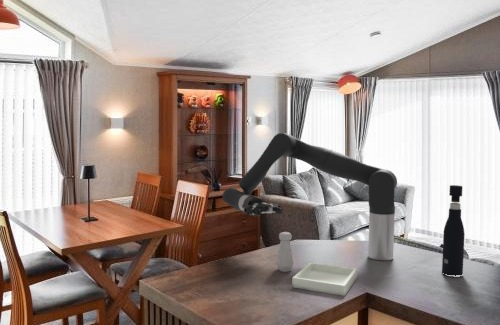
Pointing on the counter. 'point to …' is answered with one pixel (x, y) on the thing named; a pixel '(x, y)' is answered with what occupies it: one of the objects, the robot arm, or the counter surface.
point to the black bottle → (453, 236)
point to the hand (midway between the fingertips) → (270, 212)
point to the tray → (325, 278)
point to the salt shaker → (285, 253)
